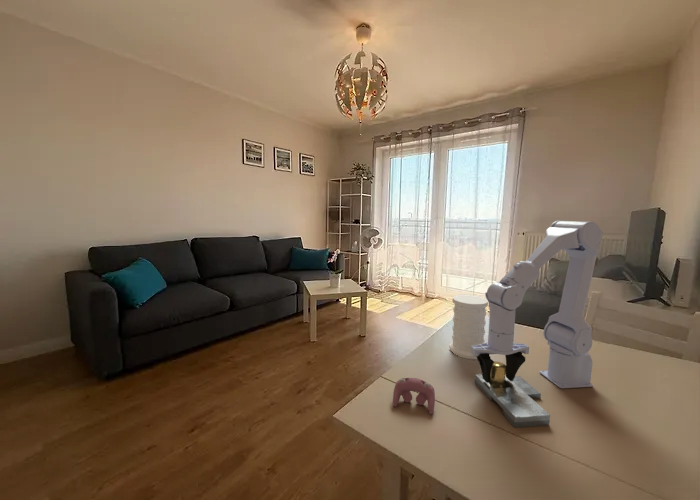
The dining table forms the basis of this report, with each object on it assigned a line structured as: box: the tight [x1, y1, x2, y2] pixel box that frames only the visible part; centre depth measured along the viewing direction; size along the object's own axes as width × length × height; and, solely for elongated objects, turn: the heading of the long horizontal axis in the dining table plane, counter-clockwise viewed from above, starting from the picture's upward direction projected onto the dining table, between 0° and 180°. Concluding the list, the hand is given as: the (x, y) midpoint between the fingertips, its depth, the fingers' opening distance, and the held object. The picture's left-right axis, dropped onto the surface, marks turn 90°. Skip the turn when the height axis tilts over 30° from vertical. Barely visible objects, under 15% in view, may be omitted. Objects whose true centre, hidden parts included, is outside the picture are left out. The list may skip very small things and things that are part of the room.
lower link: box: [474, 375, 542, 402], centre depth 77 cm, size 13×8×1 cm, turn 95°
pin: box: [489, 360, 506, 388], centre depth 77 cm, size 4×4×7 cm
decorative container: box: [449, 294, 489, 360], centre depth 98 cm, size 12×12×18 cm
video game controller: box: [392, 377, 436, 415], centre depth 71 cm, size 10×5×7 cm, turn 71°
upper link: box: [474, 373, 551, 428], centre depth 72 cm, size 8×17×2 cm, turn 5°
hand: (497, 379), depth 76 cm, fingers open, 6 cm apart
